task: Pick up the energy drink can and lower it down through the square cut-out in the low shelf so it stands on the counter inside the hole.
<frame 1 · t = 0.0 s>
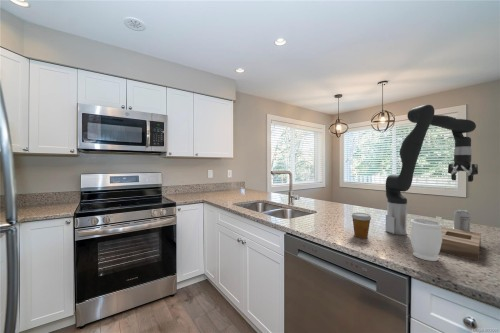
hand: (461, 181, 129), 29 cm above the countertop, tool pointing down, fingers open, 8 cm apart
energy drink can: (461, 239, 113), on the countertop
jar: (425, 257, 90), on the countertop
disposable coffee cup: (360, 236, 115), on the countertop
cutout shelf: (457, 247, 100), on the countertop
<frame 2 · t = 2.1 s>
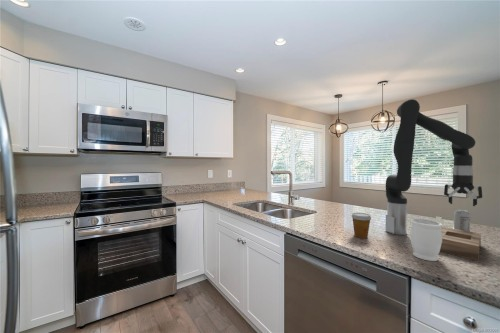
hand: (462, 204, 113), 18 cm above the countertop, tool pointing down, fingers open, 8 cm apart
nothing on the countertop moved.
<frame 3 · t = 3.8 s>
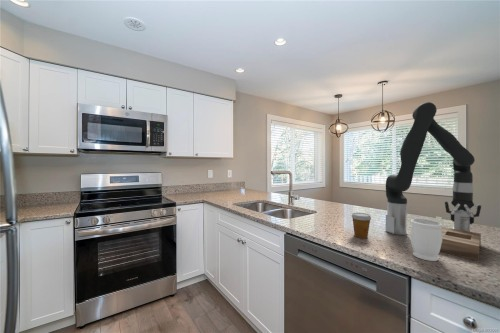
hand: (461, 222, 113), 9 cm above the countertop, tool pointing down, fingers closed on energy drink can, 6 cm apart
energy drink can: (461, 239, 113), on the countertop, touching gripper
everything else where it was.
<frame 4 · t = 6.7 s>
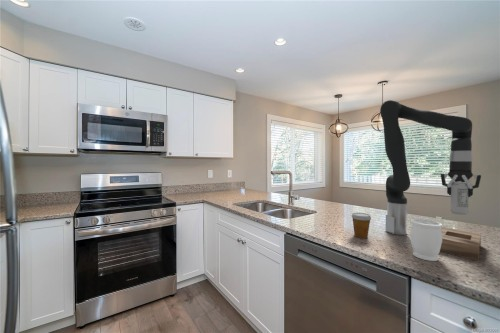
hand: (459, 195, 101), 24 cm above the countertop, tool pointing down, fingers closed on energy drink can, 6 cm apart
energy drink can: (458, 214, 102), point 16 cm above the countertop, touching gripper
everything else where it was.
when the fingers open (10 cm above the countertop, at t = 9.9 s): energy drink can drops 1 cm, on the countertop.
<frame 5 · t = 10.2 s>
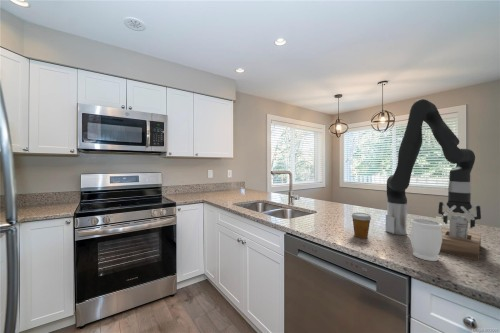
hand: (458, 225, 100), 11 cm above the countertop, tool pointing down, fingers open, 8 cm apart
energy drink can: (457, 248, 100), on the countertop
everything else where it was.
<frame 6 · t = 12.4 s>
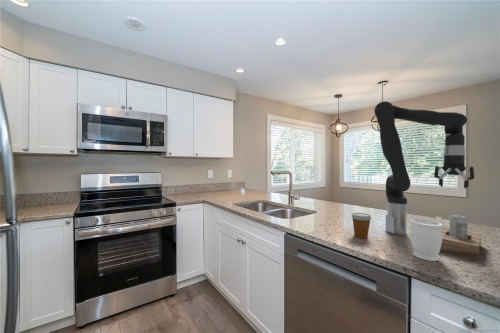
hand: (453, 187, 106), 28 cm above the countertop, tool pointing down, fingers open, 8 cm apart
nothing on the countertop moved.
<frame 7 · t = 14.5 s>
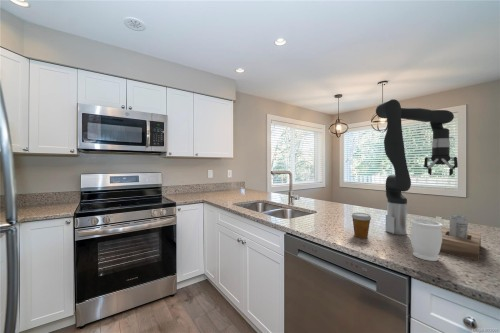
hand: (440, 175, 122), 33 cm above the countertop, tool pointing down, fingers open, 8 cm apart
nothing on the countertop moved.
at the end: energy drink can 0.1 cm off-centre on the cutout shelf, point 0.0 cm above the cutout shelf's base; energy drink can tilted 0°; the gripper is holding nothing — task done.
